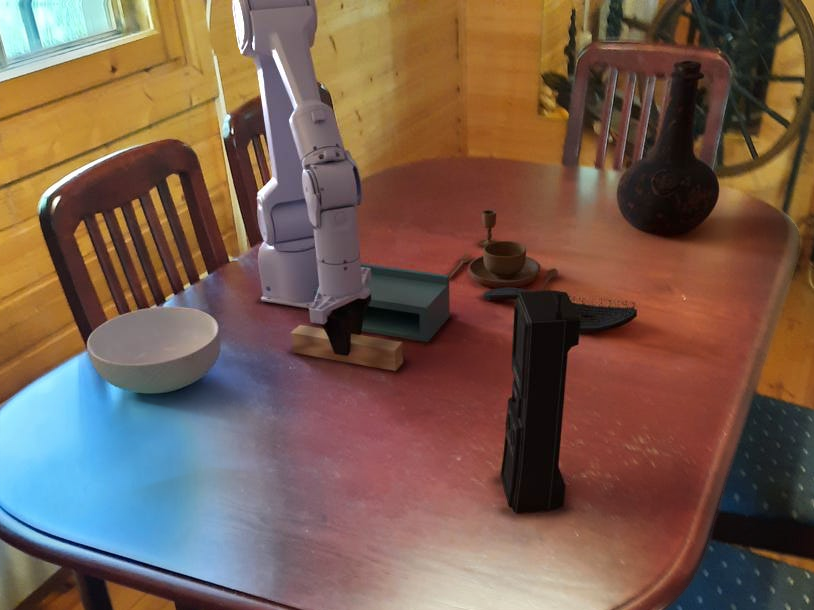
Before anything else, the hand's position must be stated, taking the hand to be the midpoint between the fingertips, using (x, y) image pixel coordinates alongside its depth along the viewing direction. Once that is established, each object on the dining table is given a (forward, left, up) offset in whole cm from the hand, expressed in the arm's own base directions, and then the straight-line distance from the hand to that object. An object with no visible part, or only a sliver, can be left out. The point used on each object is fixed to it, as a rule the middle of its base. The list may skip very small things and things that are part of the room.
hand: (346, 348), depth 120 cm
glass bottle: (+33, +65, -2) cm, 73 cm away
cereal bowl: (-21, -14, -2) cm, 25 cm away
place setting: (+12, +38, -2) cm, 40 cm away
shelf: (0, +13, -1) cm, 13 cm away
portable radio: (+33, -21, -2) cm, 39 cm away
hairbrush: (+24, +23, -2) cm, 33 cm away
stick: (0, 0, -1) cm, 1 cm away
